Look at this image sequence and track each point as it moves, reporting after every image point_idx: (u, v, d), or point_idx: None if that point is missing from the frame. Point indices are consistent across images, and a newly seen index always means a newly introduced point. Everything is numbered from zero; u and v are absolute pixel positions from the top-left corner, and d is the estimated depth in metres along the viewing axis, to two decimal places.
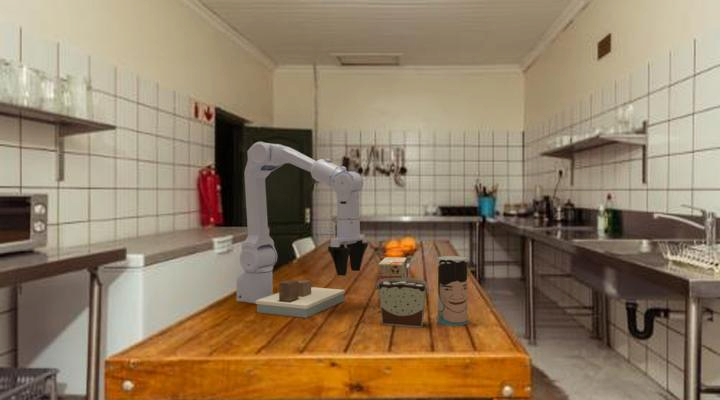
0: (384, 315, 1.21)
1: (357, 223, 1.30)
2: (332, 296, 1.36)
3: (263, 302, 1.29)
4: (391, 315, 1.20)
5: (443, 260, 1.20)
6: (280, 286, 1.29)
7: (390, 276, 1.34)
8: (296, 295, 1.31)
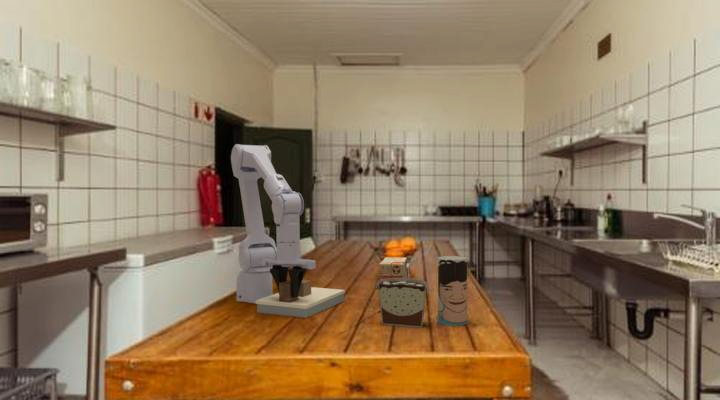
0: (384, 315, 1.21)
1: (280, 246, 1.28)
2: (332, 296, 1.36)
3: (263, 302, 1.29)
4: (391, 315, 1.20)
5: (443, 260, 1.20)
6: (280, 286, 1.29)
7: (392, 276, 1.34)
8: None
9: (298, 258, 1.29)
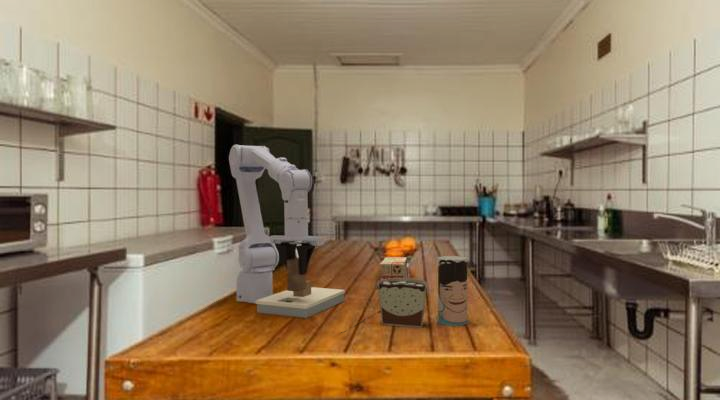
0: (384, 315, 1.21)
1: (288, 223, 1.26)
2: (332, 296, 1.36)
3: (263, 302, 1.29)
4: (391, 315, 1.20)
5: (443, 260, 1.20)
6: (288, 263, 1.28)
7: (392, 276, 1.34)
8: None
9: (306, 235, 1.28)
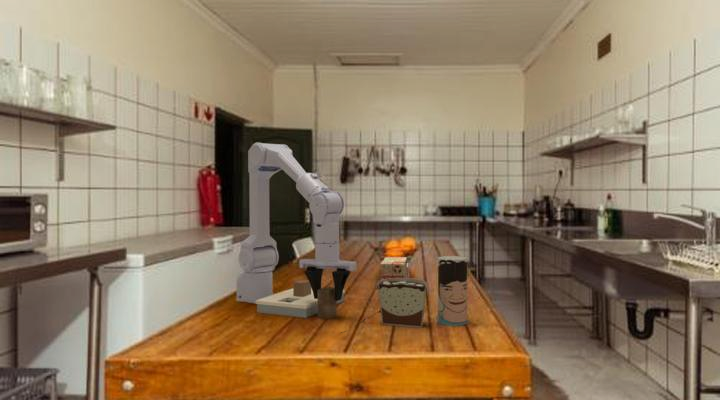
0: (384, 315, 1.21)
1: (320, 247, 1.23)
2: None
3: (263, 302, 1.29)
4: (391, 315, 1.20)
5: (443, 260, 1.20)
6: (318, 293, 1.24)
7: (393, 275, 1.35)
8: (334, 302, 1.26)
9: (338, 259, 1.24)
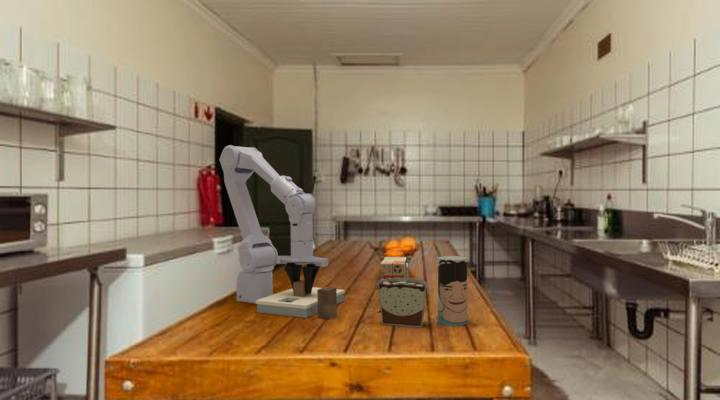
0: (384, 315, 1.21)
1: (294, 245, 1.34)
2: None
3: (263, 302, 1.29)
4: (391, 315, 1.20)
5: (443, 260, 1.20)
6: (318, 293, 1.24)
7: (393, 275, 1.35)
8: (334, 302, 1.26)
9: (311, 256, 1.35)
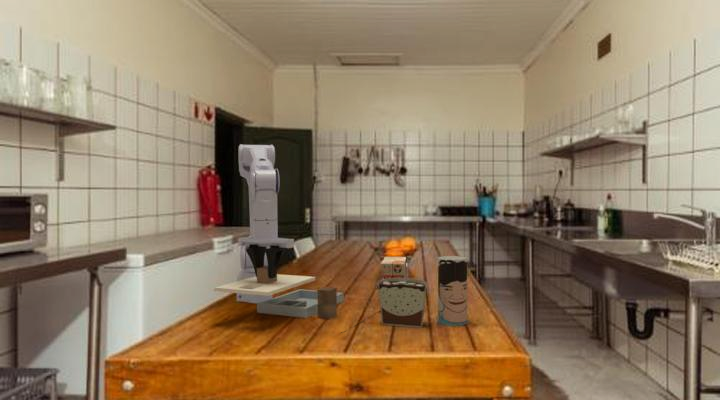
0: (384, 315, 1.21)
1: (257, 224, 1.22)
2: (299, 283, 1.24)
3: (222, 289, 1.17)
4: (391, 315, 1.20)
5: (443, 260, 1.20)
6: (318, 293, 1.24)
7: (393, 275, 1.35)
8: (334, 302, 1.26)
9: (276, 237, 1.23)
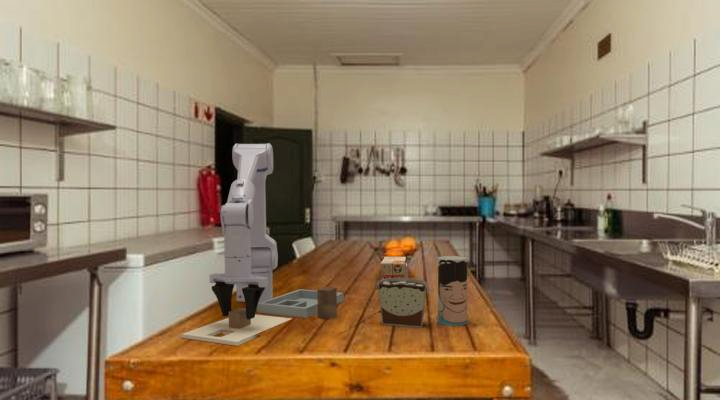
0: (384, 315, 1.21)
1: (228, 262, 1.14)
2: None
3: (190, 336, 1.10)
4: (391, 315, 1.20)
5: (443, 260, 1.20)
6: (318, 293, 1.24)
7: (393, 275, 1.36)
8: (334, 302, 1.26)
9: (248, 275, 1.16)
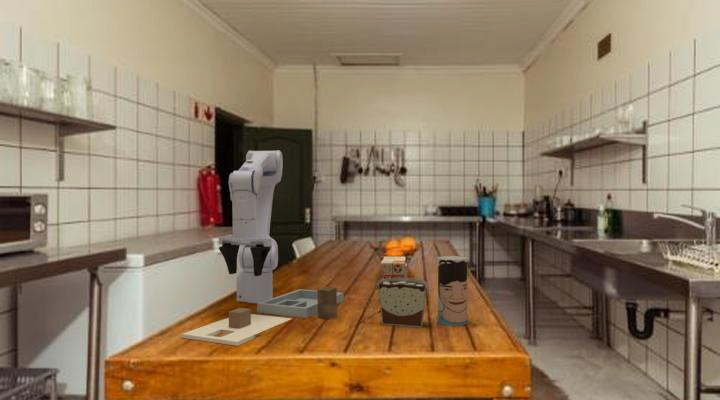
0: (384, 315, 1.21)
1: (236, 224, 1.26)
2: None
3: (190, 336, 1.10)
4: (391, 315, 1.20)
5: (443, 260, 1.20)
6: (318, 293, 1.24)
7: (393, 275, 1.36)
8: (334, 302, 1.26)
9: (254, 236, 1.28)
